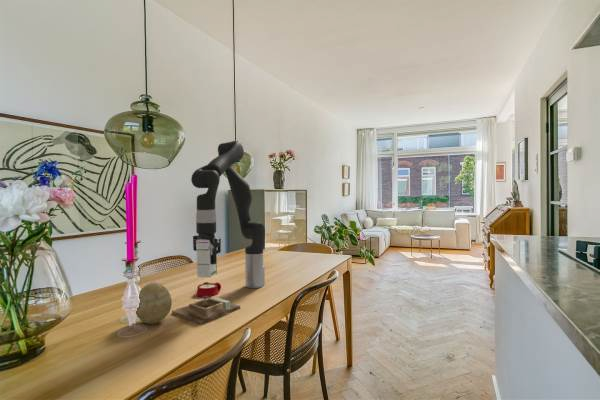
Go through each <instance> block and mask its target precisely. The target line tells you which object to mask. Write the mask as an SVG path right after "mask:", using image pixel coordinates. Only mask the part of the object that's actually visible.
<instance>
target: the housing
mask: <svg viewBox="0 0 600 400" xmlns="http://www.w3.org/2000/svg"><path fill="white" fill-rule="evenodd" d="M212 297H213V296H208V297H207V296H204V297H202V298H203V299H201V300H199V301H195V302H191V303H189V304H188V305H186V306H183V307H180V308H177V309H174V310H172V311H171V314H172V315H174V316H177V317H180V318H183V319H185V320H188V321H191V322H194V323H197V324H200V325H203V324H204V323H207V322H210V321H212V319H213V320H215V319H217V317H218V318H221V317H222V315H223V316H225V315H228V314H230V313H232V312H235V311H237V309H238V310H240V309H241V305H239V304H236V303H233V302H230V309H228V310H225V302H222V301H219V300H215V299H211V298H212ZM227 313H228V314H227Z"/></svg>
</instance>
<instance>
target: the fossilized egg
mask: <svg viewBox="0 0 600 400" xmlns="http://www.w3.org/2000/svg"><path fill="white" fill-rule="evenodd" d="M139 292H140V294H139V293H138V294H139V299H140V303H139V307H138V308H137V311H136V313H135V314H136V317H137V318H138V319H139V321H141V322H143V323H145V324H148V325H151V324H152V325H153V324H158V323H160V322H161V321H163V320H164V319H165V318H166V317H167V316H168V315H169V313H170V311H171V308H172V304H173V302H172V301H173V300H172V296H171V294H170V292H169V290H168V288H166V286H164V285H163V284H161V283H159V282H156V281H152V282H149V283H147V284H146V285H145V286H143V287H142V288H141V290H139Z"/></svg>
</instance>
